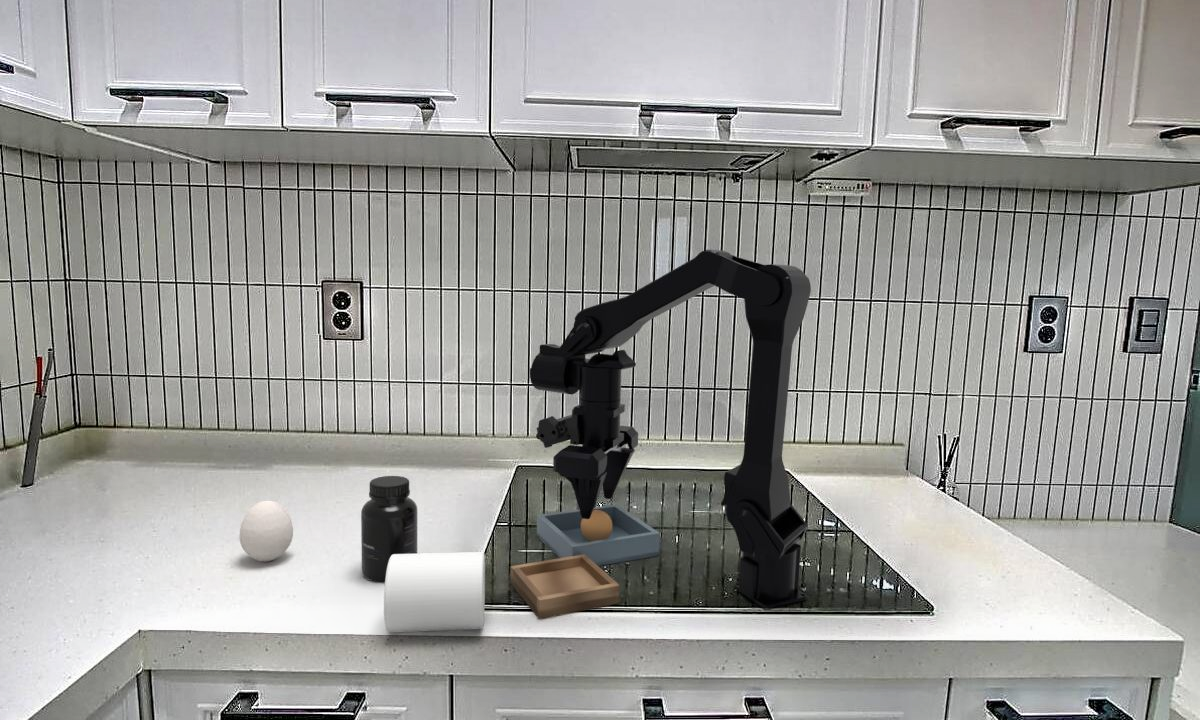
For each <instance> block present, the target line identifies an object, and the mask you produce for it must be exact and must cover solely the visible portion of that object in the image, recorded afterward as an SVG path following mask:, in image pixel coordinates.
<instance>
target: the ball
mask: <svg viewBox="0 0 1200 720" xmlns="http://www.w3.org/2000/svg"><path fill="white" fill-rule="evenodd" d="M612 527H613V526H612V521H611V518H610V517H609V515H608V514H606V513H605V512H603V511H601V510H593V512H592V515H591V517H590V519H582V521H581V532H582V534H583V536H584V537H585V538H586V539H587V540H589V541H598V540H604V539H607V538H608V537H609V536H610V534H611V532H612Z"/></svg>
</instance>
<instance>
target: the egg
mask: <svg viewBox="0 0 1200 720" xmlns="http://www.w3.org/2000/svg"><path fill="white" fill-rule="evenodd" d="M293 537H294V525H293V521H292V518H291V516H290V514H289V513H288V512H287V510H286V509H285V508H284V506H282V505H281V504H280V503H278V502H275V501H274V500H273V501H272V500H262V501H260V502H257V503H255V504H254V505H252V506H251V507H250V509H249V510H247V512H246V514H245V515H244V518H243V520H242V521H241V524H240V528H239V543H240V546H241V548H242V550H243V552H244V553H245V554H246V555H247V556H249V557H250V558H251V559H253V560H255V561H259V562H271V561H274V560H276V559H277V558H279V557H281V556H282V555H283V554H284V553H286V551H287V550H288V549H289V547H290V546H291V543H292V541H293Z"/></svg>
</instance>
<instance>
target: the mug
mask: <svg viewBox="0 0 1200 720" xmlns="http://www.w3.org/2000/svg"><path fill="white" fill-rule="evenodd" d="M383 593H384V594H383V619H384V620H383V622H384V626H385V630H386V631H387V632H388V633H403V632H404V633H405V632H407V633H408V632H429V631H430V632H434V631H457V630H479V629H480V630H481V629H483V628H484V623H485V601H486V599H485V598H486V596H485V595H486V557H485V552H483V551H469V552H468V551H467V552H466V551H463V552H462V551H460V552H428V553H427V552H425V553H423V552H422V553H417V554H393V555H392V556H391V557H390V559H389V562H388V566H387V571H386V578H385V582H384V589H383Z"/></svg>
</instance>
